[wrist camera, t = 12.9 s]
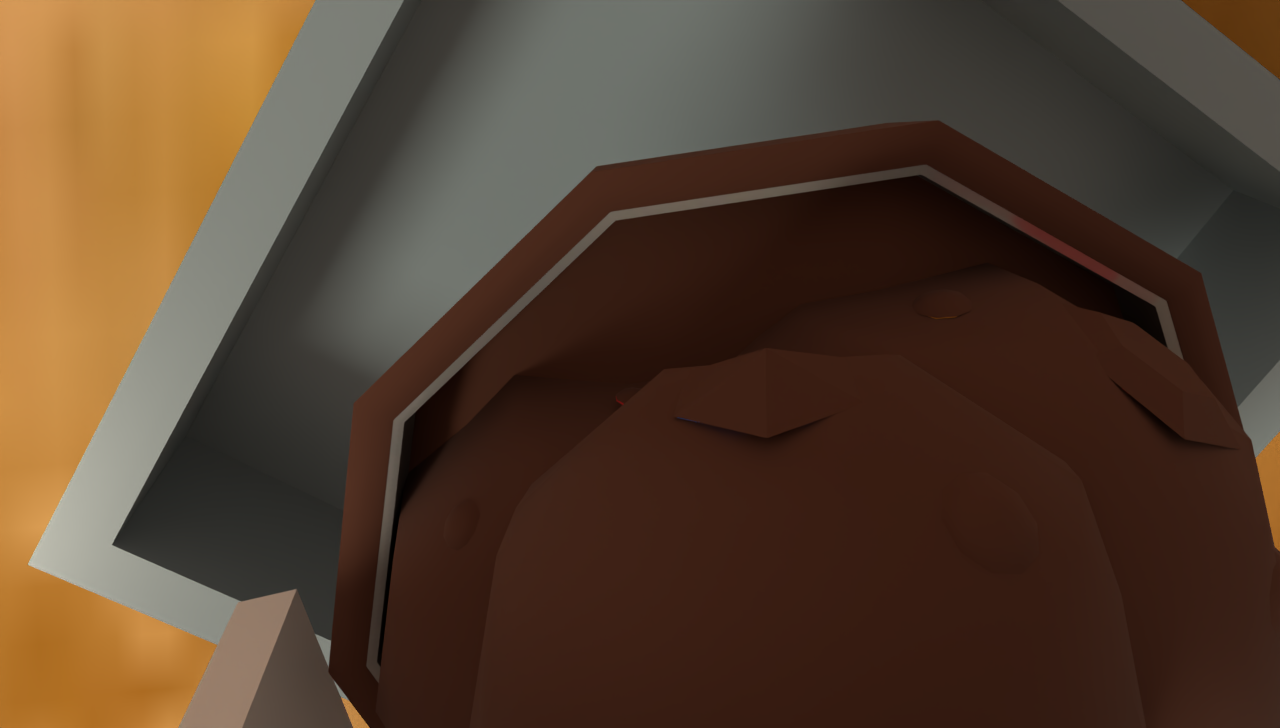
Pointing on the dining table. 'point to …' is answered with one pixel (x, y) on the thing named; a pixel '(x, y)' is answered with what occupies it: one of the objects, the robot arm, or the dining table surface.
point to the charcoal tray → (548, 171)
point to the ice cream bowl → (812, 464)
